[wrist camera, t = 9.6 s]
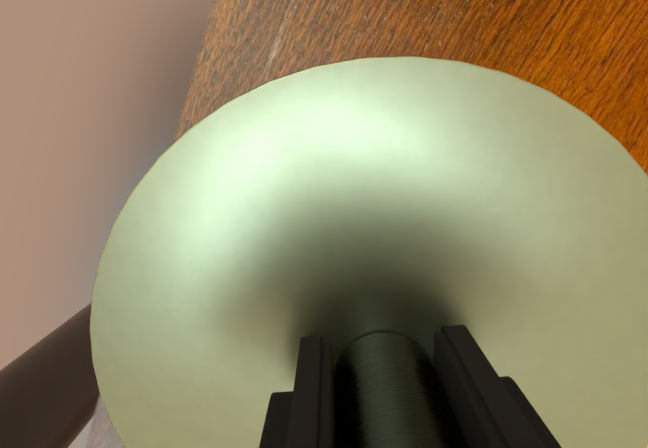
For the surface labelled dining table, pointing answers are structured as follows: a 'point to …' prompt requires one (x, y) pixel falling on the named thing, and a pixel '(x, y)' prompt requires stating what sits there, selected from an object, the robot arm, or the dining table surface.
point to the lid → (378, 260)
